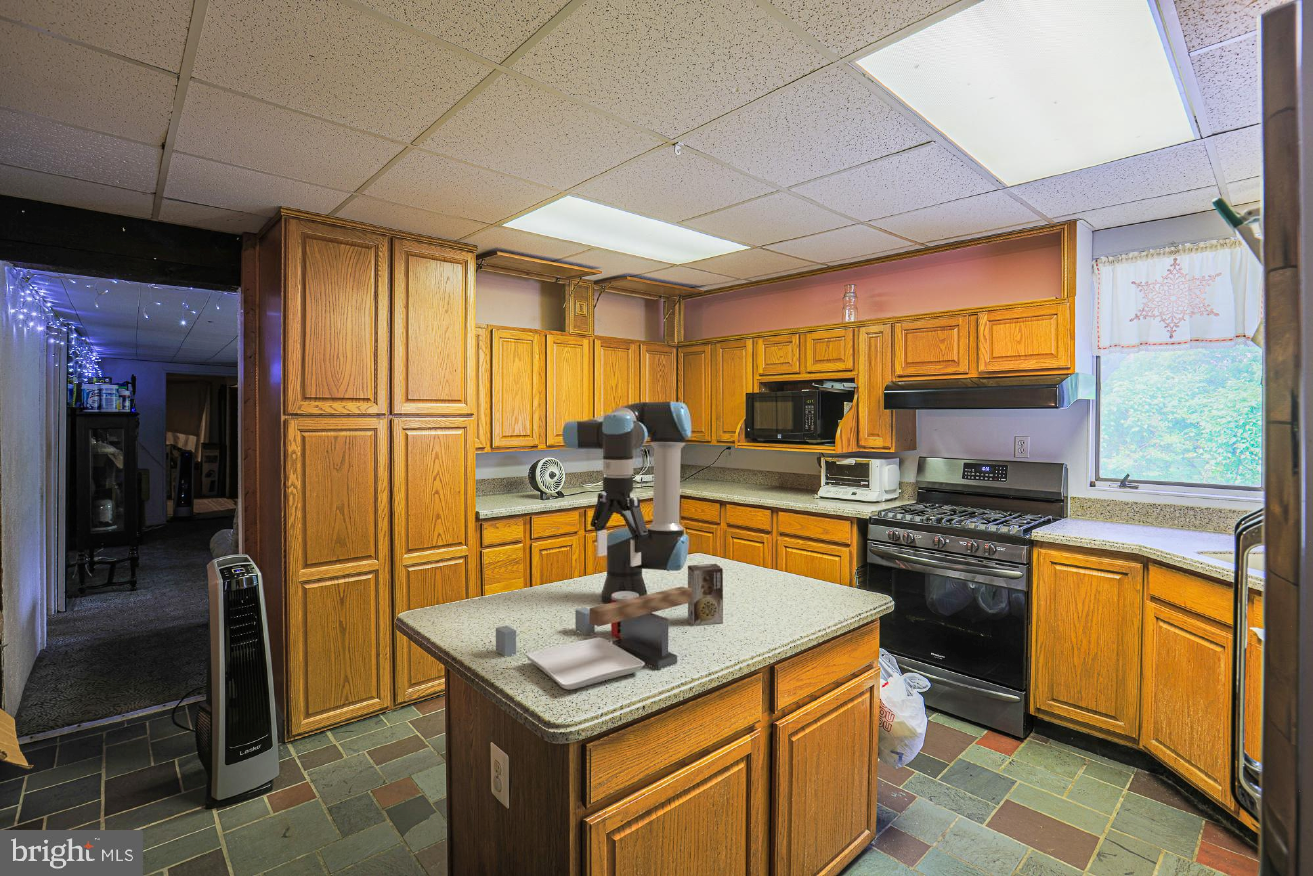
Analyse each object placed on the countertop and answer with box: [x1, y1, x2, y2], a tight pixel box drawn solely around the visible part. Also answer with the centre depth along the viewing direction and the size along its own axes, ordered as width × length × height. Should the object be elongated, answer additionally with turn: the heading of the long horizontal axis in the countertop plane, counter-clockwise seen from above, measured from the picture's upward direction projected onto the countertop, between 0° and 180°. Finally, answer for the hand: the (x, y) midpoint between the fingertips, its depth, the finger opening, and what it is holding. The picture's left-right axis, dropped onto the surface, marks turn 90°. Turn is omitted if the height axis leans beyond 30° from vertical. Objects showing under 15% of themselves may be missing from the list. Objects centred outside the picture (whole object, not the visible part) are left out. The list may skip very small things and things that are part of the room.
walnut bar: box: [589, 585, 692, 628], centre depth 154 cm, size 30×4×4 cm, turn 131°
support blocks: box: [495, 607, 596, 657], centre depth 164 cm, size 27×5×6 cm, turn 131°
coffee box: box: [687, 563, 724, 626], centre depth 181 cm, size 9×6×16 cm
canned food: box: [610, 591, 639, 640], centre depth 169 cm, size 8×8×11 cm
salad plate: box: [525, 637, 646, 690], centre depth 145 cm, size 21×21×3 cm
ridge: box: [611, 612, 678, 670], centre depth 154 cm, size 6×18×11 cm, turn 41°
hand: (618, 560), depth 156 cm, fingers open, 13 cm apart
